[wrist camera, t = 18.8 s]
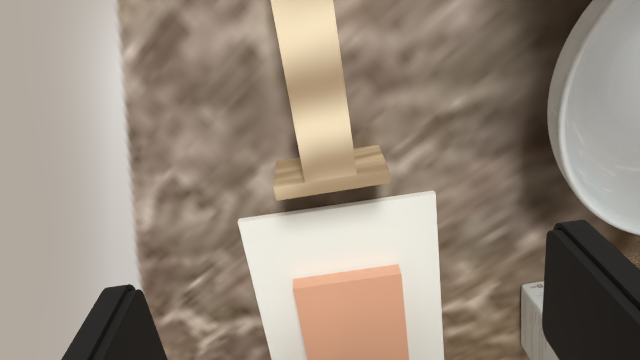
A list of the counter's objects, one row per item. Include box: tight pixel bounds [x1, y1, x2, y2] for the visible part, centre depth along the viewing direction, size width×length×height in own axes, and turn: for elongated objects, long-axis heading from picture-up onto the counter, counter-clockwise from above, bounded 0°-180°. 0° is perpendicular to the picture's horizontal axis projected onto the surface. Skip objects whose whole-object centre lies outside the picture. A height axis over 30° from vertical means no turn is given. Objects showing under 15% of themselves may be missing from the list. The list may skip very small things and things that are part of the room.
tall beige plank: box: [271, 0, 390, 201], centre depth 33 cm, size 15×8×5 cm, turn 9°
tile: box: [293, 264, 409, 360], centre depth 43 cm, size 2×9×10 cm
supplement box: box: [521, 281, 559, 360], centre depth 39 cm, size 7×7×13 cm
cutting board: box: [238, 190, 444, 360], centre depth 43 cm, size 18×16×1 cm
